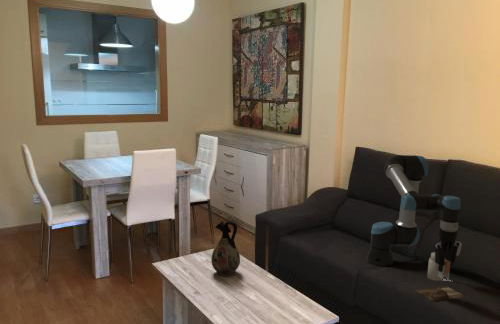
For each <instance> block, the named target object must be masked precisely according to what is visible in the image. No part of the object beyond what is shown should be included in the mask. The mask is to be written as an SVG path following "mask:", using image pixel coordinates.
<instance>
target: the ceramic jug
mask: <svg viewBox="0 0 500 324" xmlns="http://www.w3.org/2000/svg"><path fill="white" fill-rule="evenodd" d="M230 225H231V226H232V228H233V230H231V228H230V227H229V226H230ZM214 229H217V230H219V231H220V232H222V235H221V238H220V239H219V240H218V241H217V243H216V245H214V248H213V251H212V254H211V261H210V262H211V266H212V268H213V269H214V270H215V271H216V274H217V275H218V276H219V277H226V278H227V277H231V276H234V275H235V274H236V273H235V272H236V271H237V269H238V268H239V267H240V264H241V256H240V252H239V249H238V247H237V246H236V242H235V237H236V235H237V232H238V225H237V223H236V222H235V221H233V220H226V222H224V221H221V222H220V223H217V225H216V226H215V227H214ZM230 233H232V235H231V236H230Z"/></svg>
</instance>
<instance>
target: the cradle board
mask: <svg viewBox="0 0 500 324" xmlns="http://www.w3.org/2000/svg"><path fill="white" fill-rule="evenodd" d="M414 291H415V292H417V293H418V294H420V295H421V296H423V297H424V298H427V299H428V300H430V301H431V302H433V303H436V302H442V301H448V300H453V299H458V298H459V299H460V298H465V297H467V296H466V295H465V294H462V293H460V292H459V291H457V290H455V289H454V288H451V287H449V286H448V285H446V284H445V285H440V286H433V287H426V288H417V289H414Z"/></svg>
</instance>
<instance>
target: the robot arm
mask: <svg viewBox="0 0 500 324" xmlns="http://www.w3.org/2000/svg"><path fill="white" fill-rule="evenodd" d="M383 168H384V169H383V170H384V174H385V176H386V177H387V178H388V179H390V180H391V181H392V183H393V185H394V187H395V188H396V190H397V191H398V193H399V195H400V196H401V199H400V206H399V215H398V219H397V220H396V221H395V224H394V225H393V223H392V222H389V221H378V222H375V223H373V224H372V226H371V231H370V234H371V235H370V247H369V250H368V253H367V254H366V261H367V262H368V263H370V264H371V265H373V266H374V265H375V266H379V267H387V266H388V267H389V266H392V265H393V264H394V258H393V254H392V253H393V252H392V246H406V247H410V246H411V247H412V246H415V245H417V243H418V242H419V240H420V235H421V233H420V228H419V226H418V225H417V223H416V222H415V220H416V213H417V212H437V213H440V222H439V233H438V236H439V240H438V242H437V243H434V244H433V246H434V252H435V263H437V264H439V266H438V271H439V273H438V277H440V278H442V279H447V278H449V279H450V272H449V273H444V272H445V265H444V262H445V259H446V260H448V261H450V262H451V263H450V268H451V266H453V265H454V263H455V262H456V259H457V258H456V254H457V250H458V247H459V245H460V243H461V242H460V243H458V242H459V241H458V242H456V241H457V238H458V228H459V221H460V215H461V207H462V206H461V203H462V202H461V201H462V200H461V198H460V197H458V196H454V195H442V194H437V193H435V194H432V195H422V194H419V191H420V190H419V189H420V183H421V182H423V180H424V177H426V176H428V173H429V163H428V161H427V159H426V158H425V157H424V156H421V155H410V154H409V155H406V154H405V155H401V154H398V155H397V154H396V155H393V156H391V157H389V158H388V159H387V160H386V161H385V163H384V167H383ZM445 257H446V258H445ZM452 259H453V260H452Z"/></svg>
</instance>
